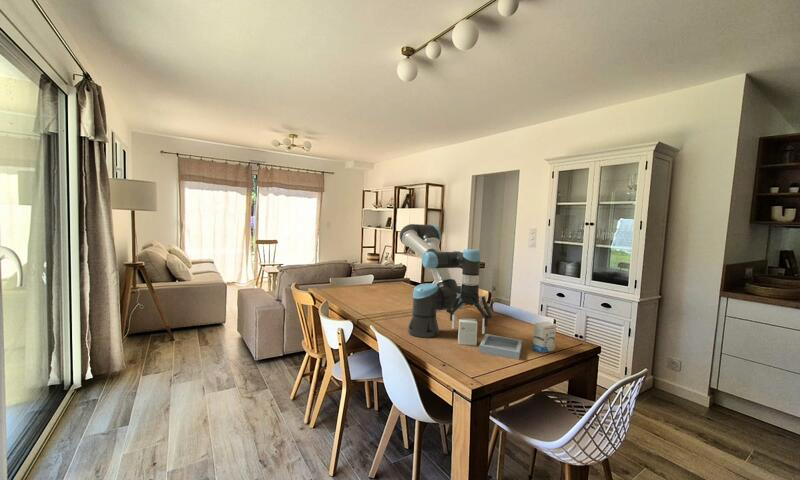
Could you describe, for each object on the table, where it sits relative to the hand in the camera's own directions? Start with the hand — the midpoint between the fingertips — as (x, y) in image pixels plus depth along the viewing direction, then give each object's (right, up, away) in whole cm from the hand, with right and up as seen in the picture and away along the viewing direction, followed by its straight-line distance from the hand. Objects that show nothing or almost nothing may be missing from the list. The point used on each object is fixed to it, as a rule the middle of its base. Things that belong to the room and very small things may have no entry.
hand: (468, 330), depth 152 cm
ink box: (+33, -8, -4) cm, 34 cm away
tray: (+13, -7, -5) cm, 16 cm away
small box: (0, -6, +1) cm, 6 cm away
